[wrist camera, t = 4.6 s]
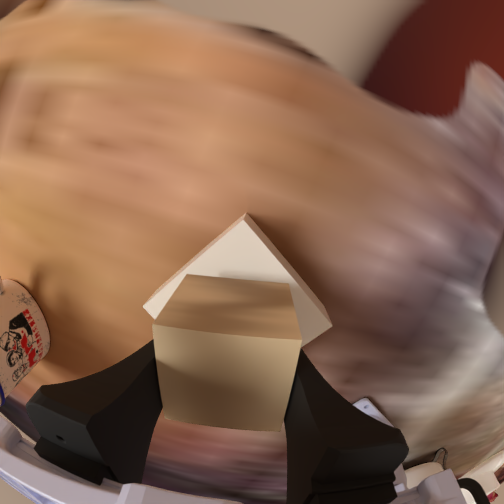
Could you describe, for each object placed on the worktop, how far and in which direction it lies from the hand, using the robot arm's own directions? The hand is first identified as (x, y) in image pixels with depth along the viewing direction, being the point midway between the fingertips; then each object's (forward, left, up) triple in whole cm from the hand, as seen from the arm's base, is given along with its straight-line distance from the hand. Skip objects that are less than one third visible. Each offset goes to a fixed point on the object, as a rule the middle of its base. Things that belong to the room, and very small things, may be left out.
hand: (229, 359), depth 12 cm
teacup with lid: (+12, +18, -7) cm, 23 cm away
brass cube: (0, 0, -2) cm, 3 cm away
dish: (-76, -6, -7) cm, 77 cm away
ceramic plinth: (0, 0, -7) cm, 7 cm away
